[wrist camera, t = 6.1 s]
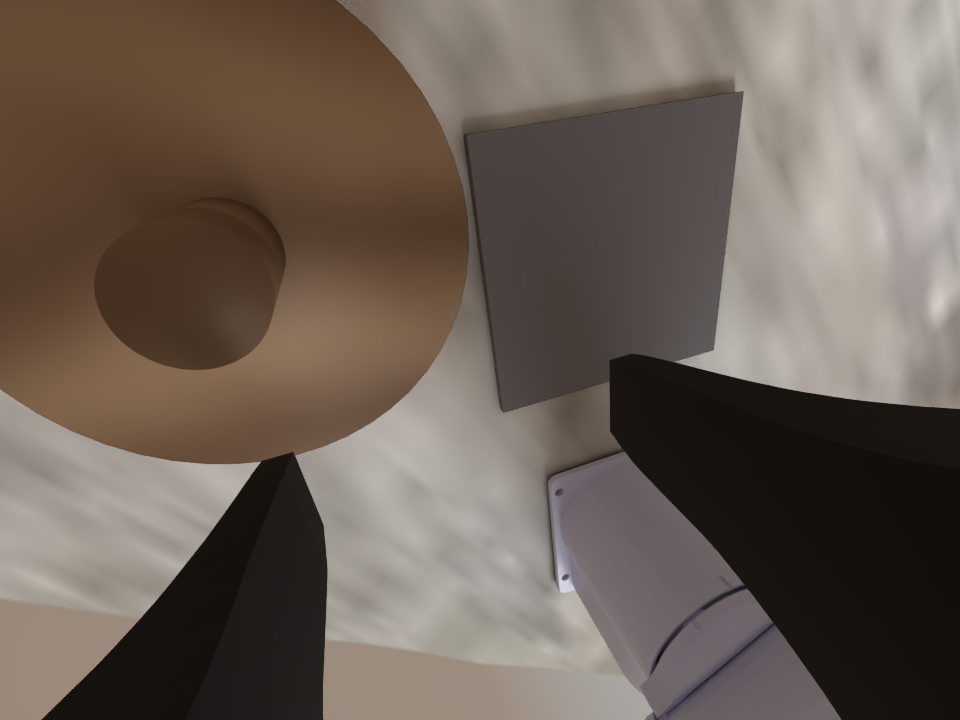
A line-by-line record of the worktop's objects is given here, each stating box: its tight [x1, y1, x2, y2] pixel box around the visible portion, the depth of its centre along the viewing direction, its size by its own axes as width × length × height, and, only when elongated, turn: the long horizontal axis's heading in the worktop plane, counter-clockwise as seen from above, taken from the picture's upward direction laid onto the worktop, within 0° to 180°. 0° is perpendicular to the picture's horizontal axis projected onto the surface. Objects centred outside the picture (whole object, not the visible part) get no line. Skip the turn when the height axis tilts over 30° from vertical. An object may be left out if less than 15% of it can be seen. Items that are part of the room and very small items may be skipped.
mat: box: [464, 91, 744, 413], centre depth 21 cm, size 12×12×1 cm
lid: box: [0, 0, 469, 464], centre depth 11 cm, size 13×13×5 cm
